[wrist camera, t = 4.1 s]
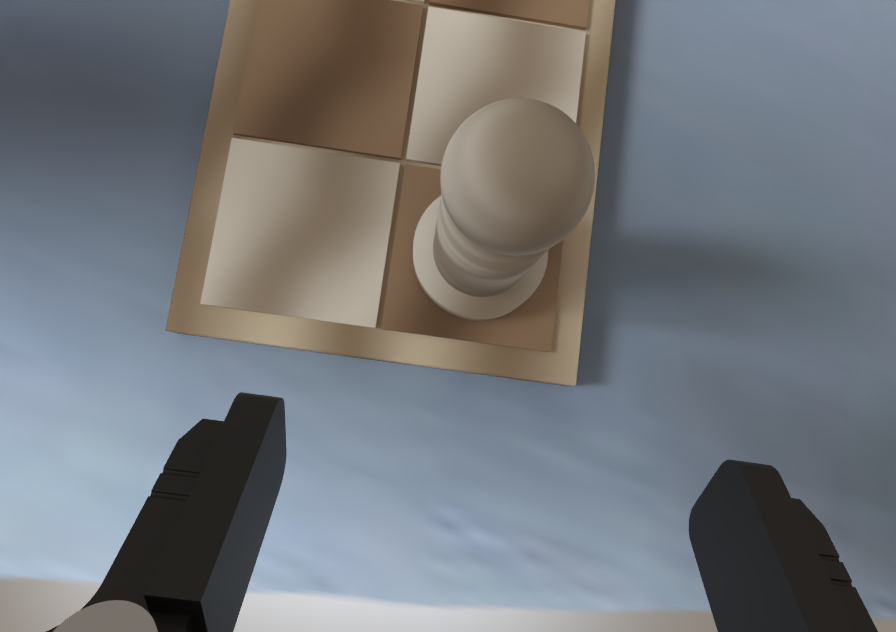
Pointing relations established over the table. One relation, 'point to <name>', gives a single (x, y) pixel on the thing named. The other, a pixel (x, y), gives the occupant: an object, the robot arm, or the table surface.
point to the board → (376, 176)
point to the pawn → (502, 207)
